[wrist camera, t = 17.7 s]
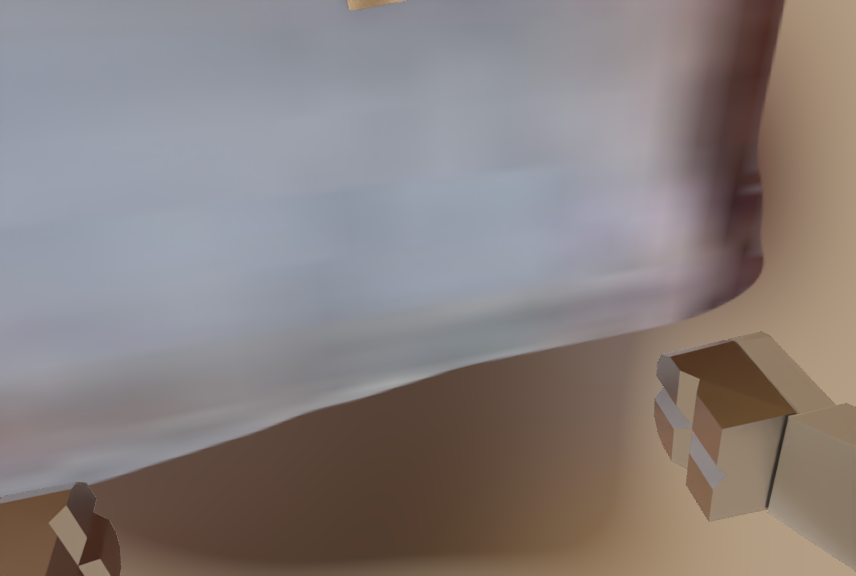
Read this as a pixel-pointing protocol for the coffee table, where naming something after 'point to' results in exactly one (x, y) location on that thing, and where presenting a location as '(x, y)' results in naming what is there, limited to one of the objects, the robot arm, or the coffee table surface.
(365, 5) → the board
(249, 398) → the coffee table surface
